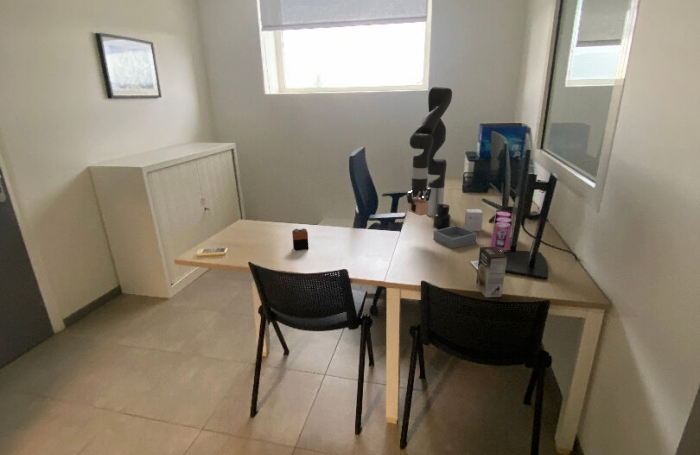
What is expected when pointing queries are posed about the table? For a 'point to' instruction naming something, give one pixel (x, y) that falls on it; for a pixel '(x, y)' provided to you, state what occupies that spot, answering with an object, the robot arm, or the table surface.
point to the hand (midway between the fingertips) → (418, 210)
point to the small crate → (420, 207)
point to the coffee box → (491, 271)
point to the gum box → (502, 229)
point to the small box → (473, 219)
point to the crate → (454, 236)
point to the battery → (300, 239)
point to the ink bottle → (442, 216)
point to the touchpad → (475, 264)
